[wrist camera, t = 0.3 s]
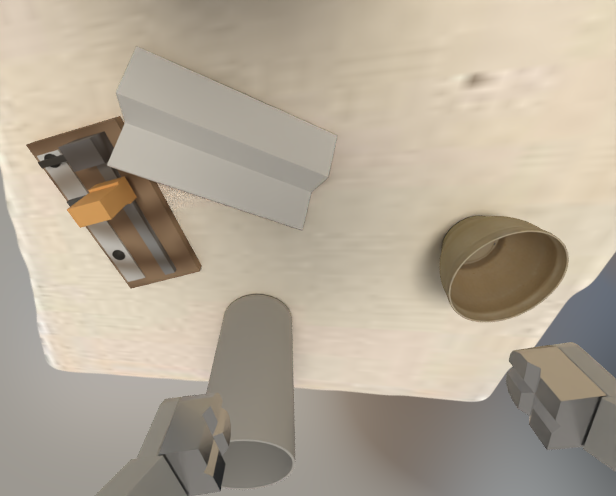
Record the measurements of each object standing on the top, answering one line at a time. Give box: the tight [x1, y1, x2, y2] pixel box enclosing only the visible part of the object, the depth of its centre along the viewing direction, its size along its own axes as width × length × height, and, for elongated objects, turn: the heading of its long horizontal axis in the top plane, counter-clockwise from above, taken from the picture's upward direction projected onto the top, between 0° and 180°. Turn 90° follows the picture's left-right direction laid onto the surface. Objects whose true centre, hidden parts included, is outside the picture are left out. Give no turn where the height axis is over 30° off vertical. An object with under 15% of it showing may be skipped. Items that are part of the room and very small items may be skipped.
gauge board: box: [26, 116, 201, 288], centre depth 45 cm, size 24×12×5 cm, turn 14°
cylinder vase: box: [206, 295, 295, 490], centre depth 49 cm, size 12×12×25 cm
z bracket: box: [107, 46, 337, 230], centre depth 40 cm, size 12×25×6 cm
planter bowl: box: [440, 216, 569, 322], centre depth 49 cm, size 16×16×11 cm
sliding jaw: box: [67, 176, 137, 228], centre depth 40 cm, size 3×9×8 cm, turn 104°
